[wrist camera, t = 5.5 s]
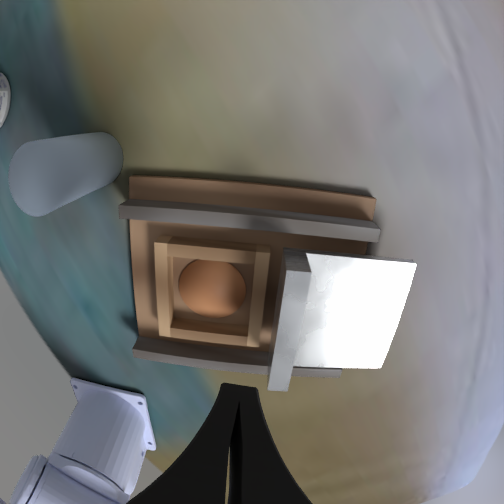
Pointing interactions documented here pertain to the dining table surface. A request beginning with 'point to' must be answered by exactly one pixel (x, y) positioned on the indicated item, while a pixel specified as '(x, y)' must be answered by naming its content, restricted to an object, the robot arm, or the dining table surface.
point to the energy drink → (4, 98)
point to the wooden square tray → (226, 263)
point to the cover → (335, 311)
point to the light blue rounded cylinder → (62, 170)
